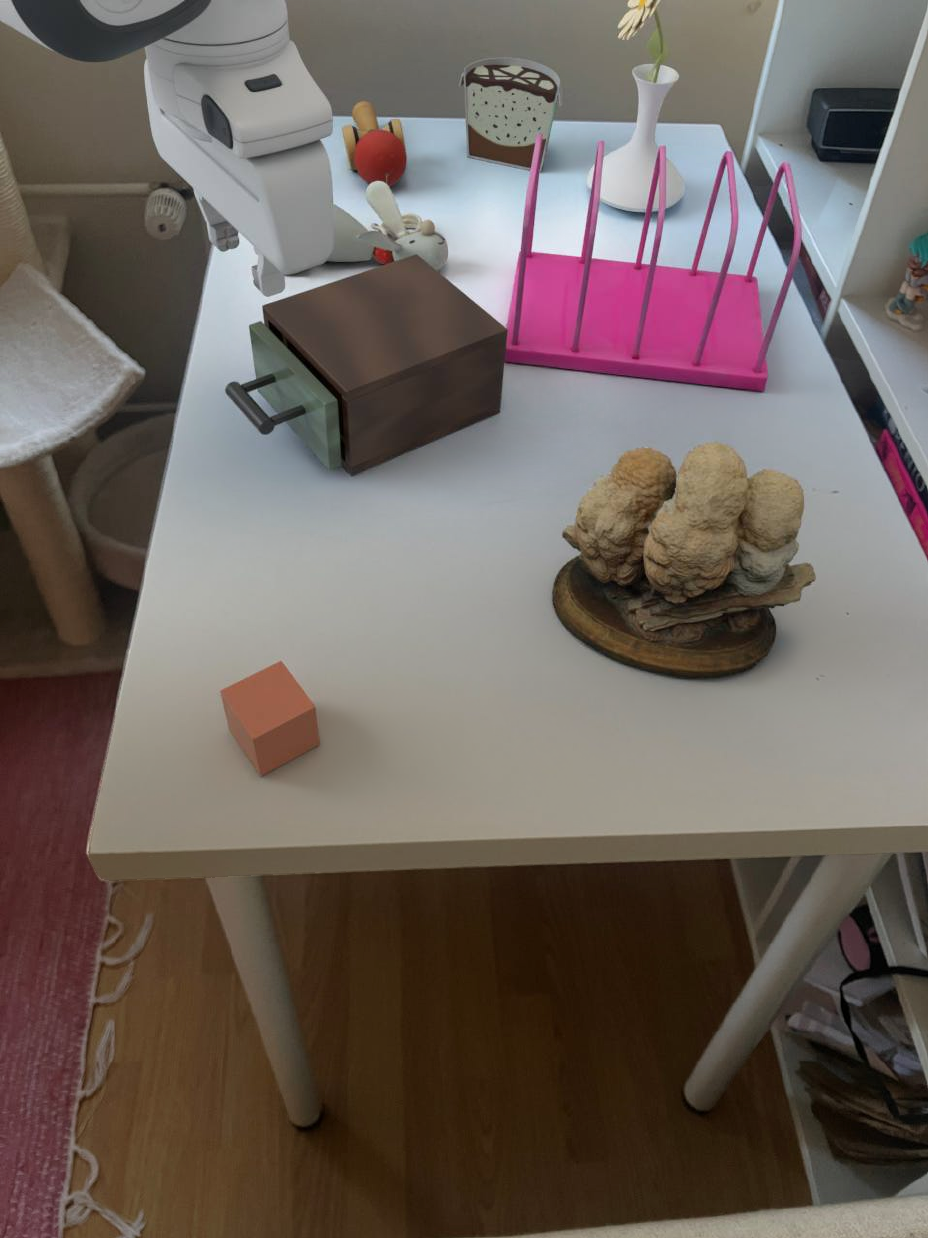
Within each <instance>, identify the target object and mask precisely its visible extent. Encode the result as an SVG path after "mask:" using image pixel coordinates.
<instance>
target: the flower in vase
mask: <svg viewBox="0 0 928 1238" xmlns="http://www.w3.org/2000/svg"><path fill="white" fill-rule="evenodd" d="M661 1H662V0H628V2H627V7H628V8H629V9H630V10H628V11H627V12H626V13H625V14H624V16H623V17H622V19H621V20H620V21H619V23H618V25H617V29H622V30H621V31H620V32H619V34H618V35H617V38H618V39H622V41H625V40H626V41H629V40H630V39H631V38H632V37H635V36H637V34H638V33H639V32H640V30H642V29H643V27H644V26H645V25H646V23H647V21H648V20H650V19H651V18H652V17H653V15H654V19H655V23H656V27H657V28H656V29H655V31H653V33H652V34H651V36H650V37H649V39H648V41H647V43H646V44H647V45H646V48H647V51H648V53H649V55H650V56H651V59H652V60H653V61H654V63H644V64H640V65H636V66H635V67H634V68H632V70H631V73H632V77H633V78H634V81H635V83H636V86H637V87H636V88H637V92H638V107H637V108H638V109H637V117H636V123H635V128H634V132H633V135H632V137H631V138H630V140H629V141H628V142H627V143H626V144H624V145H622V146H620V147H619V148H616V149H615V150H613V151H611V152H610V153H608V154H606V155H603V166H602V177H601V189H600V201H599V202H602V203H603V204H605V205H608V206H610V207H612V208H615V209H619V210H622V211H626V212H636V213H646V208H647V203H648V198H649V193H650V188H651V183H652V178H653V173H654V168H655V163H656V158H657V153H658V150H659V146H657V142H656V130H657V124H658V120H659V115H660V112H661V109H662V107H663V106H662V105H663V103H664V101H665V98H666V96H667V94H668V92H669V91H670V90H671V88H672V87H673V86H674V85H675V83H676V82H677V81H678V80H679V78H680V75H679V73H678V71H676V69H674V68H672V67H670V66H667V65H663V64H664V62H665V61H667V60H668V58H669V57H670V54H671V53H670V48H669V46H668V44H667V41H666V39H665V36H664V34H663V29H662V24H661V21H660V17H659V13H658V10H657V8H658V6H659V5H660V3H661ZM594 167H595V163H594V164H593V165H592V166H591V168H590V169H589V171H588V173H587V175H586V184H587V186H588V189H589V191H590V192H591V187H592V180H593V173H594ZM659 174H660V173H659ZM684 194H685V181H684V178H683V175H682V174H681V173H680V171H679V169H678V168H677V167H676V165H675V164H674V163H673V162H672V161H671V160H670V159H669V158H668V157H667V156H666V206H665V210H666V209H669V208H671V207H673V206H674V205H676V204H677V203H678V202H679V201H680V200H681V199H682V197H683V196H684ZM652 212H659V178H658V183H657V188H656V192H655V197H654V203H653V208H652Z"/></svg>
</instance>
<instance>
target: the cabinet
mask: <svg viewBox="0 0 928 1238" xmlns="http://www.w3.org/2000/svg"><path fill="white" fill-rule="evenodd" d="M261 308H262V317H263V324H264V325H265V326H266V327H267V328H268V329H269V330H270V331H271V332H272V333H273V334H274V335H275V336H276V337H277V338H278V339H279V340H280V341H281V342H282V343H283V338H282V334H283V335H284V336H285V337H286V338H287V339H288V340H289V341H290V342H291V344H292V345H293V346H294V347H295V348H296V349H297V350H298V351H299V352H300V353H301V354H302V355H303V356H304V357H305V358H306V359H307V360H308V361H309V362H310V363H311V364H312V365H313V366H314V367H315V368H316V369H317V370H318V371H319V372H320V373H321V374H322V375H323V376H324V377H325V378H326V379H327V380H328V381H329V382H330V383H331V384H332V385H333V386H334V387H335V388H336V389H337V391H338V392H339V393H340V394H341V395H342V407H343V424H344V442H345V444H344V443H343V442H342V441H341V440H340V447H341V463H342V465H341V467H342V468H343V469H344V470H345V471H346V472H347V474H349V475H350V476H351V477H352V476H354V475H357V474H360V473H361V472H364V471H366V470H369V469H371V468H373V467H376V466H378V465H381V464H383V463H385V462H387V461H390V460H392V459H394V458H397V457H400V456H402V455H404V454H406V453H409V452H411V451H413V450H415V449H418V448H420V447H423V446H425V445H427V444H429V443H432V442H434V441H437V440H439V439H441V438H443V437H446V436H448V435H450V434H453V433H455V432H458V431H460V430H462V429H465V428H467V427H469V426H472V425H474V424H476V423H478V422H481V421H484V420H486V419H488V418H491V417H492V416H495V415H497V414H500V413H501V407H502V406H501V404H502V396H503V395H502V394H503V387H504V386H503V384H504V373H505V364H506V361H505V354H506V343H507V333H508V329H507V327H506V326H504V325H503V324H502V323H501V322H500V321H498V320H497V319H496V318H495V317H493V316H492V315H491V314H490V313H489V312H487V311H486V309H483V307H481V306H480V305H479V304H478V303H476V301H474V300H473V299H471V297H469V295H467V294H466V293H465V292H463V291H462V290H461V289H460V288H458V286H456V285H455V284H454V283H452V282H451V281H450V280H449V279H447V278H446V276H444V275H442V274H441V273H440V272H439V270H437V271H436V270H435V269H434V268H433V267H432V266H430V265H429V264H428V263H427V262H426V261H424V260H423V259H422V258H421V257H420V256H418V255H417V254H415V255H413V256H410V257H407V258H404V259H401V260H398V261H393V262H392V263H389V264H382V265H380V266H377V267H373V268H371V269H368V270H366V271H362V272H359V273H355V274H352V275H350V276H347V277H344V278H341V279H338V280H335V281H332V282H329V283H326V284H323V285H320V286H317V287H314V288H310V289H308V290H304V291H302V292H299V293H295V294H293V295H290V296H287V297H283V298H280V299H278V300H274V301H272V302H269V303H266V304H262V306H261Z"/></svg>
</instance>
